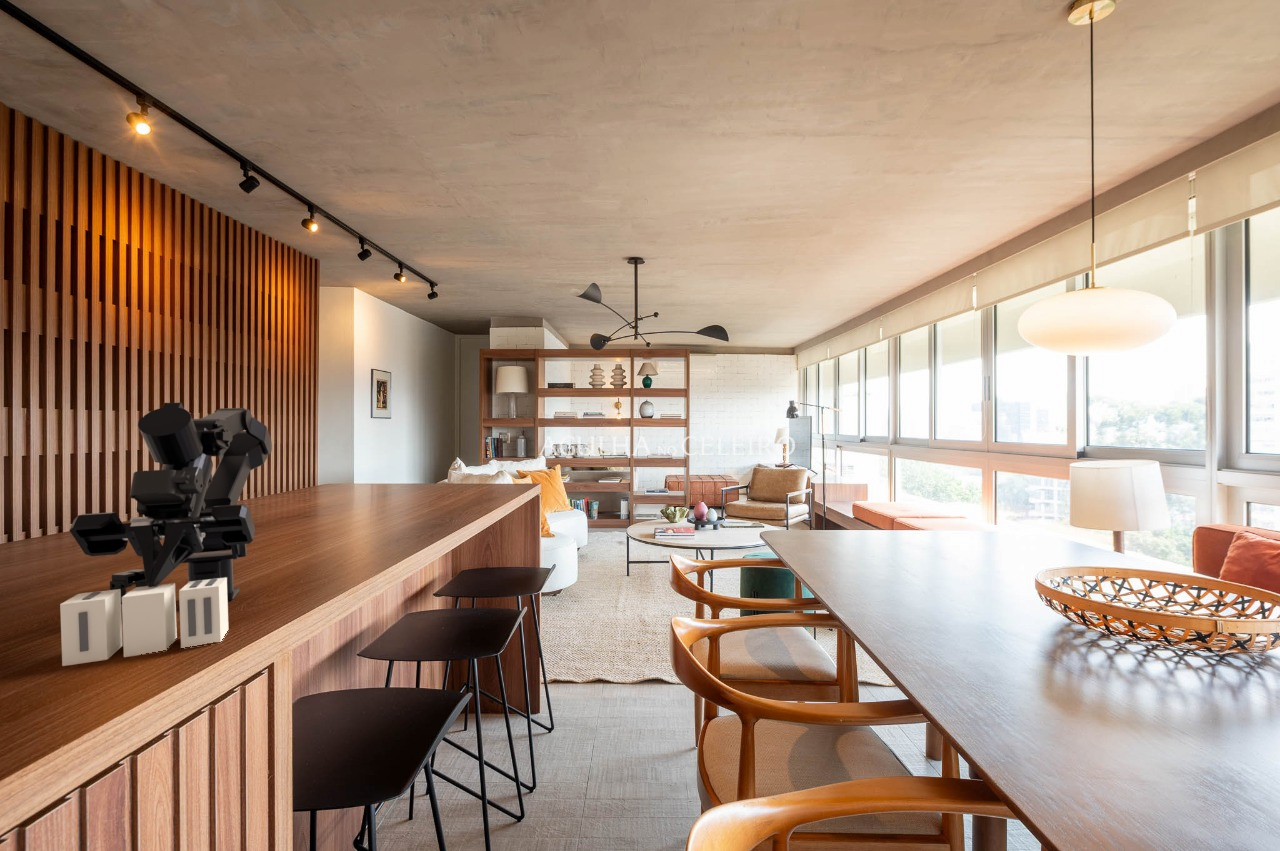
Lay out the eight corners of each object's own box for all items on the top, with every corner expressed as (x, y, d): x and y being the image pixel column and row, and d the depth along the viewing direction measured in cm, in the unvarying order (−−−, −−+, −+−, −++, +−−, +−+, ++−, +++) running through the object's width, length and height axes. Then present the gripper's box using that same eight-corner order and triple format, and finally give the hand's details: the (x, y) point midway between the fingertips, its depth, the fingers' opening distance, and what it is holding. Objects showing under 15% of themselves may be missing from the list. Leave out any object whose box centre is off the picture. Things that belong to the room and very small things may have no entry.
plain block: (137, 643, 77) (135, 587, 77) (176, 638, 78) (175, 583, 78) (123, 657, 72) (121, 597, 72) (166, 651, 74) (164, 592, 74)
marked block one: (80, 651, 74) (78, 592, 74) (122, 645, 76) (120, 587, 76) (61, 666, 70) (59, 603, 70) (106, 660, 71) (104, 598, 71)
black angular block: (105, 613, 92) (104, 582, 92) (69, 611, 94) (68, 581, 94) (185, 591, 104) (184, 563, 104) (152, 589, 106) (151, 562, 106)
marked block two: (191, 636, 79) (189, 580, 79) (228, 631, 81) (226, 576, 80) (180, 649, 74) (178, 590, 74) (220, 643, 76) (218, 585, 76)
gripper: (75, 450, 78) (24, 554, 67) (246, 444, 84) (224, 539, 73) (107, 506, 85) (65, 607, 75) (262, 497, 91) (244, 589, 81)
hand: (151, 585), depth 76 cm, fingers closed
